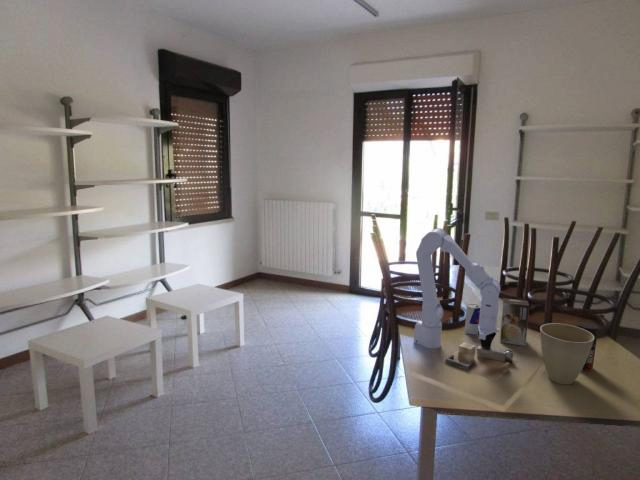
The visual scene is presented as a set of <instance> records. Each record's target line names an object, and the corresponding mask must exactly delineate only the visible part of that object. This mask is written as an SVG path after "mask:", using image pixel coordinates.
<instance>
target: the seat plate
mask: <svg viewBox="0 0 640 480" xmlns="http://www.w3.org/2000/svg"><path fill="white" fill-rule="evenodd" d="M477 349H478V348H475V356H474V360H473V361H471V362H470V363H467V362H464V361H461V360H458V353H459V348H458V349H457V350H456V351H454V352H452V353H451V354H449V355H448V356H447V357H445V358H444V359H442V360H441V362H442V363H444V364H447V365H450V366H453V367H456V368H459V369H461V370H465V371H467V372H470V373H473V374H476V375H479V376H482V377H484V378H487V379H489V380H492V381H496V382H498V381H499V380H500V379H501V378H502V377H503V376H504V375H505V374H507V373H508V371H510V370H511V369H512V368H513V367H514V366H515V365H516V364H517V363H518V361H516V360H514V359H513V362H512V363H508V362H504V361H498V360H493V359H487V358H482V357H477Z"/></svg>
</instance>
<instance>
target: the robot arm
mask: <svg viewBox="0 0 640 480" xmlns="http://www.w3.org/2000/svg"><path fill="white" fill-rule="evenodd" d="M439 248H440V249H439ZM438 249H439V252H444V253H449V255H451V256H452V257H453V258H454V260H456V261H457V262H458V263H459V264H460V266H462V267H463V268H464V270H465V271H464V273H465V276H466V277H467V278H468V280H470V281H471V282H472V283H473V284H474V286H475V287H476V288H477V289H479V292H480V295H481V300H480V305H479V306H480V317H479V325H478V329H479V331H478V336H477V337H478V339H479V340H480V344H481V345H480V346H482V347H487V348H492V347H491V346H492V344H493V343H492V342H493V340H494V338H495V337H496V335H497V333H500V331H501V328H498V327H497V325H498V324H497V323H498V313H499V296H500V292H501V285H500V284H499V283H500V282H499V281H498V280H496V279H494V277H493V276H490V274H488V272H487V271H486V270H485V267H484V265H482V264H481V265H480V264H479V263H475V262H472V260H471V259H470V258H469V256H468V255H467V254H466V253H465V252H464V251H463V250H462V248H461V247H460V246H459V244H458V243H457V242H456V241H455V239H454V238H453V237H452V236H451V235H449V234H448V233H447V231H446V230H444V229H443V228H441V227H440V228H439V227H437V228H434V229H432V230H431V231H429V232H428V233H426V234H425V235H424V236H423V237H422V238H421V241H420V243H419V246H418V248H417V250H416V252H415V253H416V254H415V255H416V256H415V257H416V261H417V262H416V263H417V268H418V269H417V270H418V276H419V282H420V283H419V284H420V289H421V295H422V306H421V312H422V313H421V315H420V320H418V321H417V322H416V323H415V325H414V329H413V330H414V331H413V344H418V345H420V346H422V347H424V348H427V349H439V348H440V347H441V345H442V333H443V332H442V330H443V323H442V321H441V319H442V318H443V317H444V315H445V313H444V308H443V306H442V305H441V302H440V299H439V298H438V294H437V286H436V281H435V274H434V269H433V267H434V266H433V261H432V255H433V254H435V253H434V252H436V250H438Z"/></svg>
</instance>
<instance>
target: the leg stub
mask: <svg viewBox="0 0 640 480" xmlns="http://www.w3.org/2000/svg"><path fill="white" fill-rule="evenodd" d="M458 349H459V353H458V360H461V361H464V362H467V363H470V362H471V361H473V360H474V356H475V349H476V345H474V344H471V343H468V342H465V341H464V342H462V344H460V345H459V346H458Z"/></svg>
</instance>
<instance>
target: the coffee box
mask: <svg viewBox="0 0 640 480" xmlns="http://www.w3.org/2000/svg"><path fill="white" fill-rule="evenodd" d="M529 311H530V304H529V301H528V300H522V299H516V298H506V297H503V298H502V308H501V321H500V331H499V342H500V343H502V344H510V345H516V346H522V347H523V346H524V347H526V345H527V333H528V323H529Z"/></svg>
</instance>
